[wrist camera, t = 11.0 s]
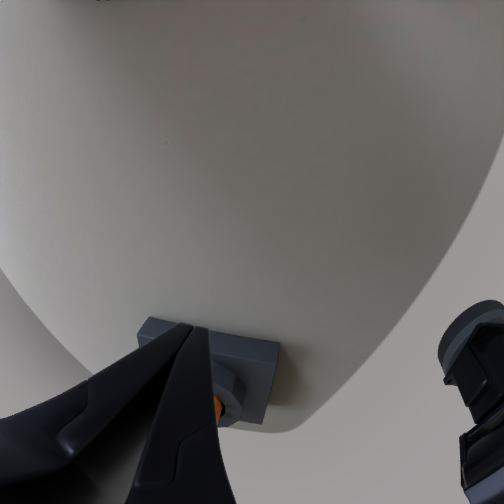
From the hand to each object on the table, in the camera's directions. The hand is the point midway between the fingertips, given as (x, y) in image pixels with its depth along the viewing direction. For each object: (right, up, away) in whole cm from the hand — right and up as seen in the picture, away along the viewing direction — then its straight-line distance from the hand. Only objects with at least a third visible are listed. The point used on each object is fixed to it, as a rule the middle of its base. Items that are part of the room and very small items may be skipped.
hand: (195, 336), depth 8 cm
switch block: (-2, -7, +14) cm, 16 cm away
